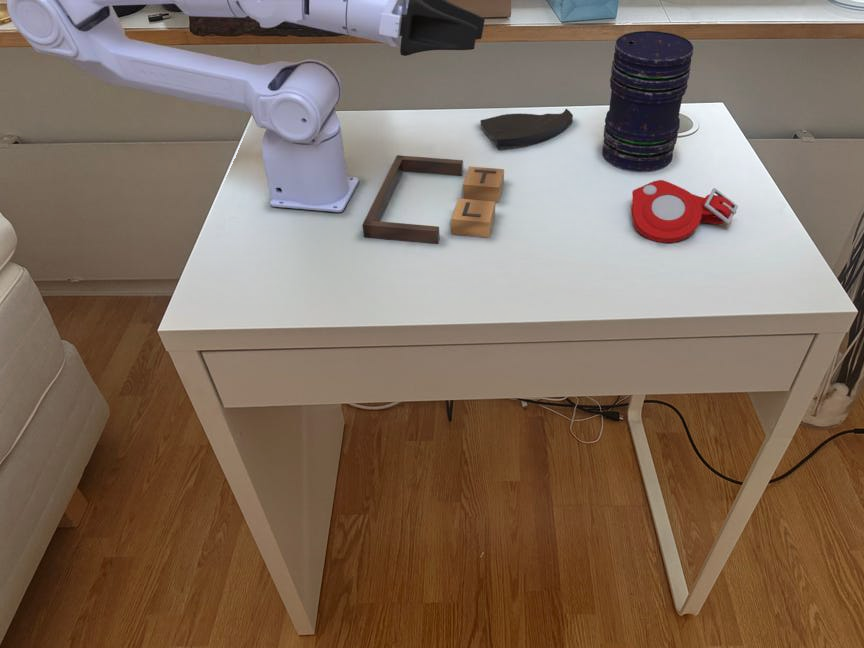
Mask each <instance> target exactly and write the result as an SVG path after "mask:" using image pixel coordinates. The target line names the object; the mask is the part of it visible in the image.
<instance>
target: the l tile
mask: <svg viewBox="0 0 864 648" xmlns="http://www.w3.org/2000/svg"><path fill="white" fill-rule="evenodd" d="M455 203H456V204H455V206H454V207H455V208H454V210H453V212H452V215H451V218H450V225H451V227H450V228H451V235H454V236H465V237H477V238H487V239H488V238H489V239H490V238H491V235H492V230H493V227H494V224H495V223H494V222H495V218H496V202H494V201H482V200H470V199H463V198H457V201H456V202H455Z"/></svg>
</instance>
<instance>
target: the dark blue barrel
mask: <svg viewBox="0 0 864 648" xmlns="http://www.w3.org/2000/svg"><path fill="white" fill-rule="evenodd" d="M694 47H695V46H694V44H693V43H692V42H691V40H688V39H687V38H685V37H684V36H681V35H678V34H675V33H670V32H667V31H657V30H639V31H632V32H628V33H624V34H622V35H620V36H619V37H617V39H616V40H615V45H614V53H613V60H612V62H611V70H610V73H611V75H610V78H609V87H610V89H611V92H610V99H609V106H608V107H609V109H608V111H607V112H606V114H605V118H604V127H603V145H602V151H601V155H602V158H603V159H604V160H605V162H607V163H608V164H610V165H611V166H613V167H615V168H617V169H621V170H623V171H628V172H634V173H650V172H651V173H652V172H656V171H660V170H663V169H665V168H666V167H669V165H670V164H671V163H672V162H673V157H674V151H675V146H676V145H677V141H678V136H679V130H680V127H681V125H680V124H681V119H680V117H679V116H680V112H681V106H682V101H683V96H684V95H685V94H686V91H687V90H688V82H689V78H690V74H691V64H692V58H693V53H694V49H695V48H694Z"/></svg>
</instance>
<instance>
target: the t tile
mask: <svg viewBox="0 0 864 648" xmlns="http://www.w3.org/2000/svg"><path fill="white" fill-rule="evenodd" d="M504 183H505V169H504V168H496V167H495V168H494V167H481V166H469V167H468V169H467V172H466V174H465V177H464V180H463V183H462V197H463V198H462V199H470V200H482V201H494V202H495V203H500V200H501V196H502V192H503V188H504V185H505V184H504Z"/></svg>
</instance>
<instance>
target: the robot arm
mask: <svg viewBox="0 0 864 648" xmlns="http://www.w3.org/2000/svg"><path fill="white" fill-rule="evenodd" d="M173 4H174V5H176V7H177V8H178V9H179V10H180V11H181V12H183V14H184V15H186V16H189V17H205V18H206V17H209V18H247V17H249V18H250V19H251V20H254V21H256V22H257V23H259V26H260V28H263V29H271V28H275V27H277V26H279V25H281V24H282V23H285V22H286V23H291V24H296V25H301V26H305V27H308V28H313V29H317V30H318V29H319V30H323V31H327V32H331V33H335V34H342V35H346V36H350V37H355V38H360V39H364V40H369V41H372V42H373V41H374V42H378V43H382V44H388V45H389V46H390V47H393V48H399V47H400V48H399V53H400V56H403V57H407V56H410V55H414V54H417V53H418V54H419V53H423V52H430V51H472V50H474V49H475V45H476V40H481V39H482V38H483V32H484V27H485V21H486V20H485V18H484V17H482V16H481V15H479V14H476V13H475V12H472V11H470V10H467V9H465V8H463V7H460V6H458V5H457V4H454V3H453V2H450V1H448V0H6V9H7V14H8V16H9V19H10V21H11V23H12V24H13V26H14V27H15V28H16V30H17V31H18V32H19V34H20V35H21V36H22V37H23V38H24V39H25V40H26V41H27V42H28V43H29V45H30V46H31V47H32V49H34V50H35V52H37V53H38V54H39V53H40V54H43V55H49V56H54V57H59V58H61V59H63V60H64V61H66V62H67V63H69V64H71V65H73V66H75V67H76V68H78V69H80V70H81V71H83V72H85V73H87V74H88V75H90V76H92V77H94V79H97V80H98V81H101V82H103V83H106V84H109V85H113V86H114V85H115V86H119V87H123V88H128V89H134V90H139V91H143V92H147V93H153V94H158V95H163V96H166V97H173V98H176V99H182V100H188V101H192V102H195V103H196V102H197V103H201V104H206V105H211V106H215V107H216V106H217V107H222V108H225V109H231V110H234V111H235V110H236V111H239V112H240V111H241V112H246V113H249V114H251V117H252V119H253V120H254V122H255V124H256V127H258V128H260V129H264V130H265V131H264V134H263V136H262V142H261V156H262V163H263V166H264V172H265V175H266V179H267V184H268V188H269V189H268V190H269V193H270V198H271V200H270V201H269V206H270V207H274V208H285V209H297V210H307V211H317V212H318V211H320V212H331V213H342V212H343V211H344V210H345V209H346V206H347V205H348V203H349V201H350V199H351V197H352V195H353V194H354V192H355V190H356V188H357V186H358V185H359V183H360V178H359V177H355V176H348V169H347V163H346V156H345V149H344V148H345V147H344V142H343V141H344V140H343V135H342V134H343V133H342V127H341V121H340V119H339V117H338V115H337V111H336V106H338V104H339V102H340V100H341V98H342V94H343V93H342V92H343V88H342V87H343V86H342V82H341V80H340V77H339V75H338V74H337V72H336V71H335V69H334V68H332V66H330V65H329V64H328V63H326V62H324V61H322V60H319V59H312V58H310V59H309V58H308V59H304V60H301V61H298V62H290V61H285V60H279V61H274V62H269V63H264V64H254V63H249V62H243V61H240V60H235V59H229V58H224V57H219V56H214V55H210V54H205V53H200V52H194V51H190V50H186V49H182V48H176V47H171V46H167V45H162V44H157V43H151V42H147V41H143V40H142V41H141V40H138V39H133V38H129V37H128V36H127V35H126V31H125V28H124V27H123V24H122V23H121V21H120V18H119V17H118V15H117V12H116V11H115V9H114V7H113V6H141V5H142V6H143V5H173Z"/></svg>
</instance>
